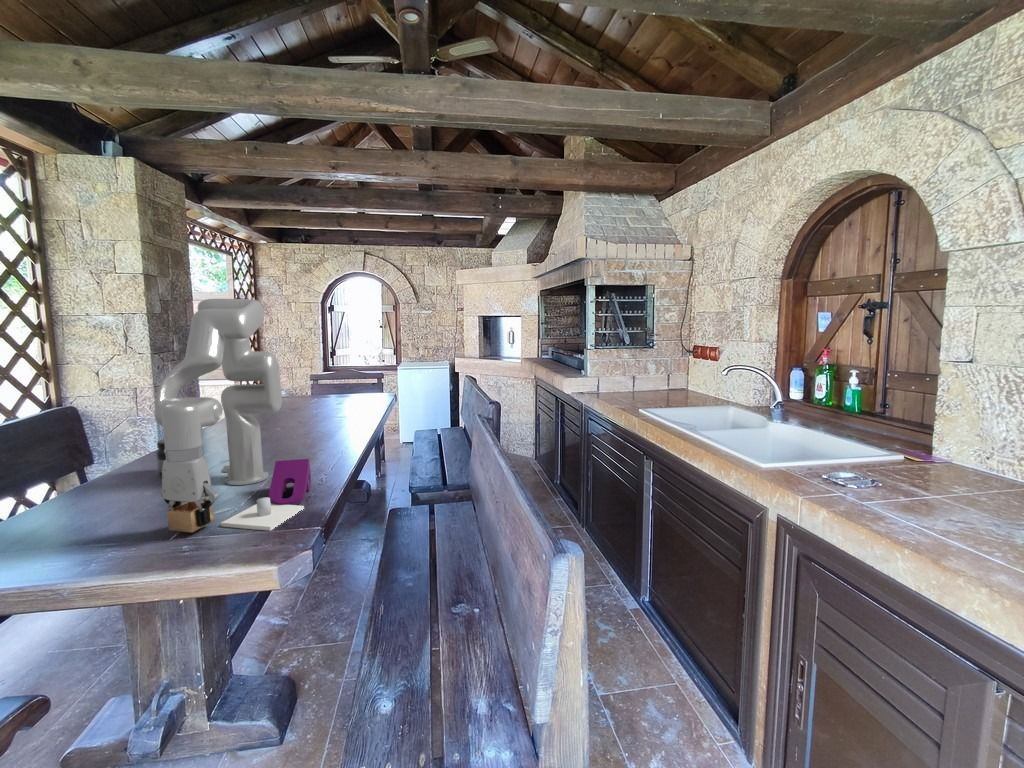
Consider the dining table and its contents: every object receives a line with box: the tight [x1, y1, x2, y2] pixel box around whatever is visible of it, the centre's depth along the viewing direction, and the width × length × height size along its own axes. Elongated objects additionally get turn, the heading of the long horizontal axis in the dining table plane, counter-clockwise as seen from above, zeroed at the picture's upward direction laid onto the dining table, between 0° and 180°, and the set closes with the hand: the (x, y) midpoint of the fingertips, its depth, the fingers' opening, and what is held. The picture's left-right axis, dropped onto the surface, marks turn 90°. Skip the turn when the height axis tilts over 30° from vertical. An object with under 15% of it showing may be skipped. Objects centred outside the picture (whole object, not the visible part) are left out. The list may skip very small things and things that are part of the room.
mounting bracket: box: [268, 458, 312, 505], centre depth 142 cm, size 9×8×18 cm
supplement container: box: [155, 438, 166, 478], centre depth 163 cm, size 10×10×12 cm
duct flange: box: [220, 496, 305, 532], centre depth 127 cm, size 14×14×5 cm
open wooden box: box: [166, 500, 215, 534], centre depth 118 cm, size 7×7×5 cm
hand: (191, 522), depth 119 cm, fingers closed on open wooden box, 6 cm apart
